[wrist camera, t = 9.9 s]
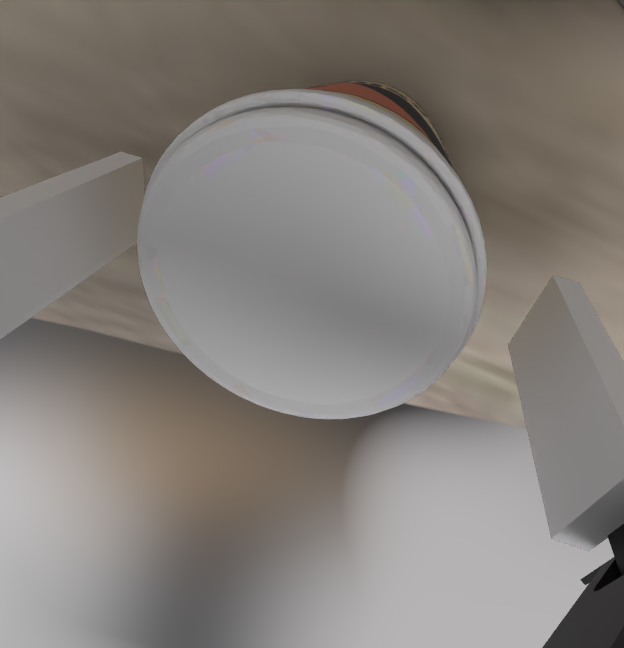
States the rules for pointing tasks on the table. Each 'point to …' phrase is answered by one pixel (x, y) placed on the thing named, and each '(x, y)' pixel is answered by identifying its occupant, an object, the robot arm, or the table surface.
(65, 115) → the table surface
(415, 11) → the table surface
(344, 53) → the table surface
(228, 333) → the coffee cup
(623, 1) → the disc
